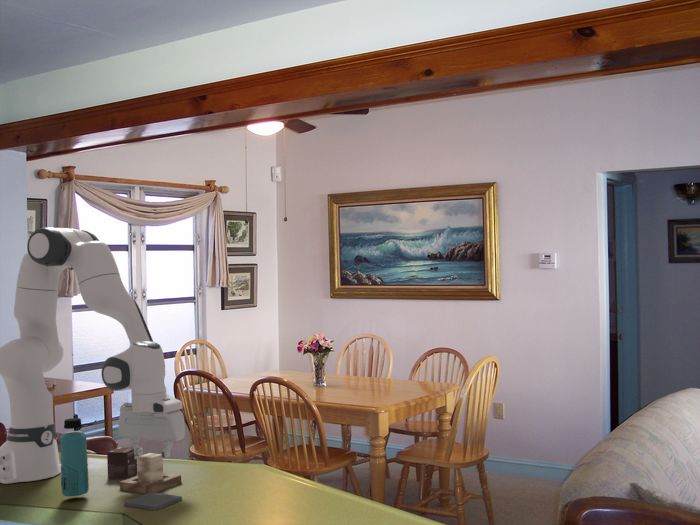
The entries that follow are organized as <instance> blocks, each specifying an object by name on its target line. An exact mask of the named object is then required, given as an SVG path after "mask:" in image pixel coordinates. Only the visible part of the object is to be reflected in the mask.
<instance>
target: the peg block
mask: <svg viewBox="0 0 700 525" xmlns="http://www.w3.org/2000/svg"><path fill="white" fill-rule="evenodd" d="M163 459H164V458H162V454H161V453H153V452H148V453H145V454H143V455H140V456H137V472H138V473H137V476H138V482H146V483H154V482H156V481H159V480H162V479H163V473H164V463H163V462H164V460H163Z"/></svg>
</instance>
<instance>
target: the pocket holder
mask: <svg viewBox="0 0 700 525" xmlns="http://www.w3.org/2000/svg"><path fill="white" fill-rule="evenodd" d="M181 483H182V475H181V474H174V473H166V472H163V479H162V480H159V481H156V482H154V483H146V482H138V475H134V476H132V477H130V478H128V479H124V480H121V481H119V490H120V491H128V492H135V493H142V494H147V493H150V492H153V493H159V492H162V491H164V490H166V489H169V488H171V487H175V486H177V485H179V484H181Z"/></svg>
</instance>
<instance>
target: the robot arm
mask: <svg viewBox="0 0 700 525" xmlns="http://www.w3.org/2000/svg"><path fill="white" fill-rule="evenodd" d="M26 244H27V245H26V246H27V252H26V253H25V254H24V255H23V256H22V260H21V263H20V266H19V270H18V274H17V281H16V287H15V296H14V297H15V298H14V305H13V306H14V308H13V316H14V319H16V321H17V323H18V328H19V338H16V339H13V340H10V341H8V342H6V343H5V344H3V345H2V346H0V376H1V377H2V379H3V381H4V384H5V387H6V389H7V394H8V398H9V406H10V407H9V409H10V427H9V428H5V429H4V431H6V432H4V434H7V436H6V441H5V442H4V443H3V444H2V445H1V446H0V483H1V484H5V485H8V484H14V483H24V482H26V483H27V482H33V481H34V482H35V481H41V480H45V479H49V478H53V477H55V476H57V475H59V474H62V473H61V462H60V455H59V449H58V442H57V440H56V439H55V436H56V430H57V428H56V423H55V422H54V403H53V402H54V401H53V399H54V398H53V394H52V393H51V392H50V391H49V390H48V387H47V384H46V381H45V377H44V373H48V372H50V371H52V370H53V369H55V368H56V367H57V366H58V365H59V364H60V363H61V362H62V359H63V357H64V348H63V345H62V343H61V342H60V340H59V334H58V329H57V328H58V325H57V307H58V297H59V286H60V285H59V284H60V277H61V274H62V272H63V271H64V270H65V269H68V270H71V271H74V272H75V274H76V275H75V276H76V280H77V284H78V287H79V288H78V289H79V292H80V295H81V298H82V301H83V302H84V304H85V305H86V307H88V308H89V310H92V311H93V312H96V313H98V314H100V315H104V316H107V317H109V318H112V319H114V320H116V321H117V322H118V323H119V324H121V326H122V327H123V329H124V330H125V333H126V336H127V338H128V341H129V344H130V346H129V347H128V348H126V349H125V350H124V351H122V352H120V353H118V354H116V355H112V356H109V357H108V358H106V360H105V361H104V362H103V365H102V367H101V378H102V381H103V382H102V383H103V384H104V386H105V387H106V388H107V389H109V390H110V391H114V392H121V391H122V392H123V391H127V390H131V402H124V403H123V404H122V405H120V407H119V416H118V418H119V419H118V430H117V431H118V432H117V433H118V435H119V437H120V438H121V439H129V443H130V445H131V448H133V449H134V455H136V456H137V457H139V456H142V455H144V448H143V447H141V446H140V443H139V442H140V440H147V441H148V440H149V441H159V442H160V441H161V442H162V441H163V445H164V449H163V450H161V451H160V452H161V453H160V454H162V458H163V459H168V458H170V457H171V450H172V448H173V446H174V442H178V441H181V440H183V439H184V437H185V436H186V424H185V417H184V416H185V415H184V413H183V411H181V410H182V409H183V401H182V400H180V399H177V398H176V397H173V396H171V395H169V394H167V387H166V385H165V377H166V362H165V356H164V351H163V348H162V346H161V345H160V344H159V343H158V342H155V341H153V337H152V335H151V333H150V330H149V327H148V325H147V323H146V319H145V318H144V316H143V313H142V311H141V309H140V307H139V304H138V303H137V301H136V300H135V299H134V298H133V297H132V296H131V295H130V293H129V292H128V290H127V289H126V287H125V285H124V283H123V281H122V280H123V279H122V278H121V275H120V274H121V273H120V271H119V268H118V264H117V262H116V260H115V258H114V255H113V253H112V251H111V249H110V247H109V246H108V244H106V243H105V242H103V241H100V239H98V237H97V236H96V235H95V234H94V233H91V232H90V231H87V230H83V229H81V230H80V229H77V228H71V227H53V226H48V227H40V228H37V229H35V230H34V231H33V232H32V233H31V234H30V235H29V237H28V240H27V243H26Z"/></svg>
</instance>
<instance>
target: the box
mask: <svg viewBox="0 0 700 525" xmlns="http://www.w3.org/2000/svg"><path fill="white" fill-rule="evenodd" d="M106 454H107V455H106V457H107V459H106V460H107V462H106V463H107V479H119V480H122V479H124V480H126V479H129V478H132V477H135V476H136V475H138V459H137V457H138V456H136V455H134V449H133V447H116V448H113V449H111V450H109V451H107V453H106Z"/></svg>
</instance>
